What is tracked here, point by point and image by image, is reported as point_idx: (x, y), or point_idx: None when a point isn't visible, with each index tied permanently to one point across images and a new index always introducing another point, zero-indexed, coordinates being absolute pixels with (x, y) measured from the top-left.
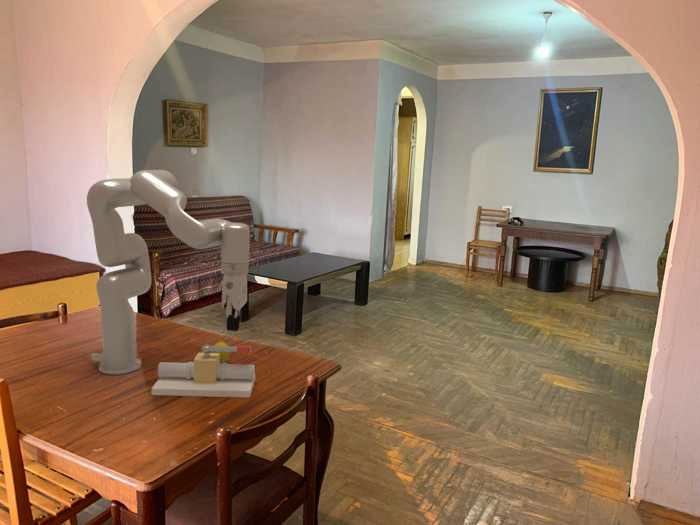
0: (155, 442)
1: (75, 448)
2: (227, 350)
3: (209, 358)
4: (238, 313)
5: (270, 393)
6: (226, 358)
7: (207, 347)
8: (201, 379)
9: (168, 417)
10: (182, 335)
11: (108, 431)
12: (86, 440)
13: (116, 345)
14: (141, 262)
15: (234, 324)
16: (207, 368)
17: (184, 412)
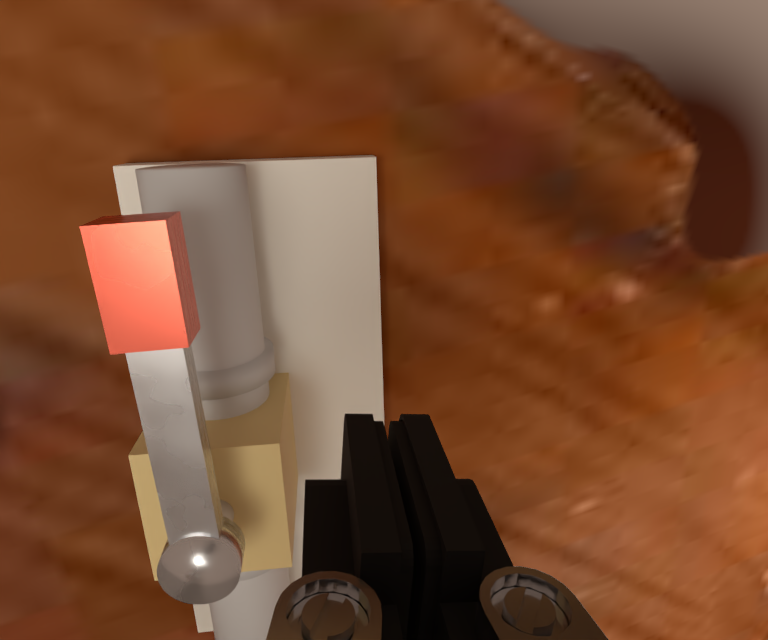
0: (759, 442)
1: (755, 634)
2: (200, 409)
3: (244, 490)
4: (381, 629)
5: (300, 30)
6: None
7: (226, 560)
8: (294, 450)
9: (578, 463)
10: None
11: (666, 601)
12: (714, 630)
13: None
14: None
15: (485, 513)
16: (287, 458)
17: (538, 420)
